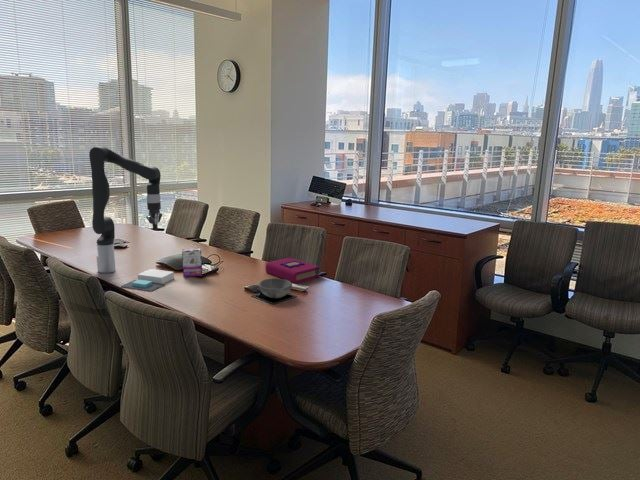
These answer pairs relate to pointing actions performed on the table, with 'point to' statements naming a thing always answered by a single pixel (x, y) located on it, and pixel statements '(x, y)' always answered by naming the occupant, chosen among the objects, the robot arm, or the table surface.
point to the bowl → (275, 287)
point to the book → (292, 270)
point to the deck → (156, 276)
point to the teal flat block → (142, 283)
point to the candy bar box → (192, 262)
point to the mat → (150, 288)
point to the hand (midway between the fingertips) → (155, 230)
